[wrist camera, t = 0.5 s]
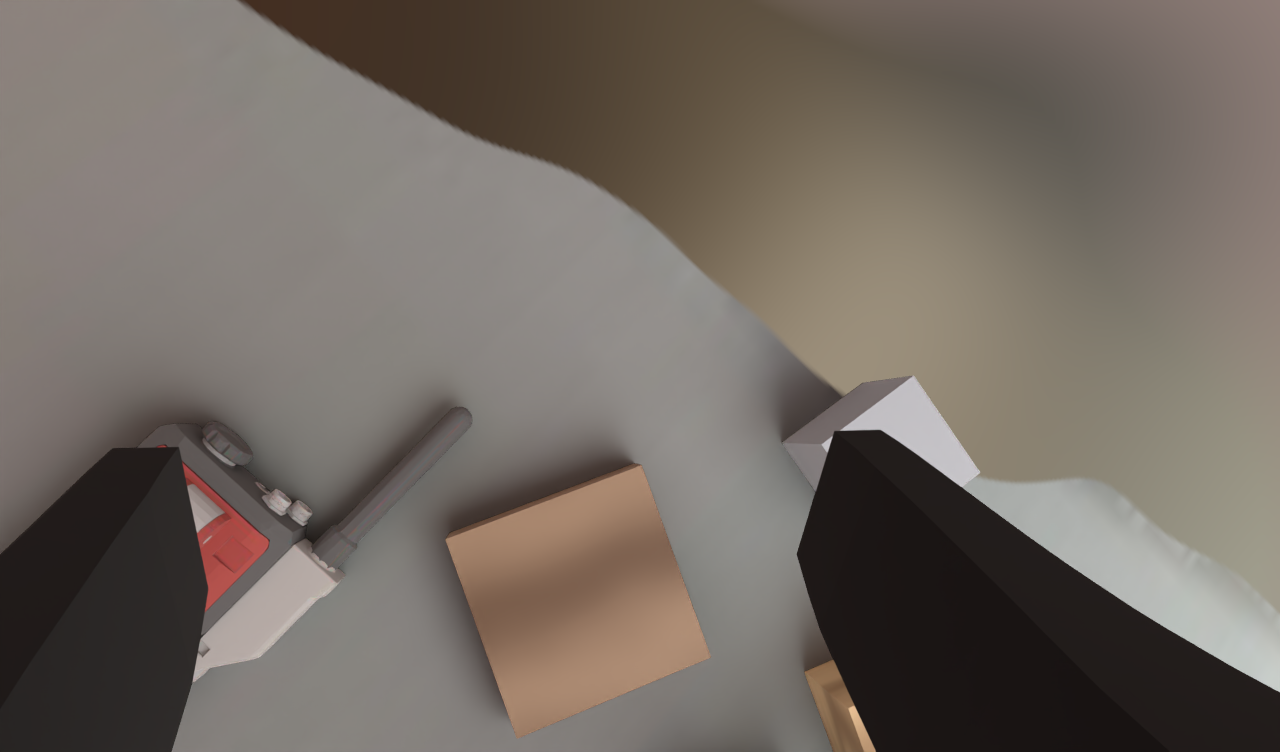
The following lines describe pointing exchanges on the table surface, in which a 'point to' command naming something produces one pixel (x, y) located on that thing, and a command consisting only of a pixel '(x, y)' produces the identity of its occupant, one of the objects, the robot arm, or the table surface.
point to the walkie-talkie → (272, 535)
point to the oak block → (837, 710)
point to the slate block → (884, 428)
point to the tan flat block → (577, 598)
